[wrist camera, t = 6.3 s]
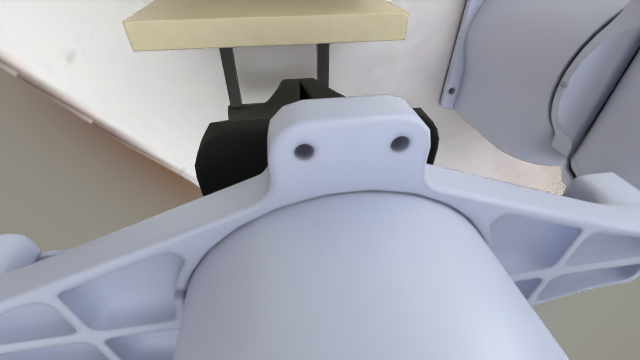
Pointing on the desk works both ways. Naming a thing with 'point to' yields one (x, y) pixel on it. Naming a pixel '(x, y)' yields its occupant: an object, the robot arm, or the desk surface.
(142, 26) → the drawer
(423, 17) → the desk surface
